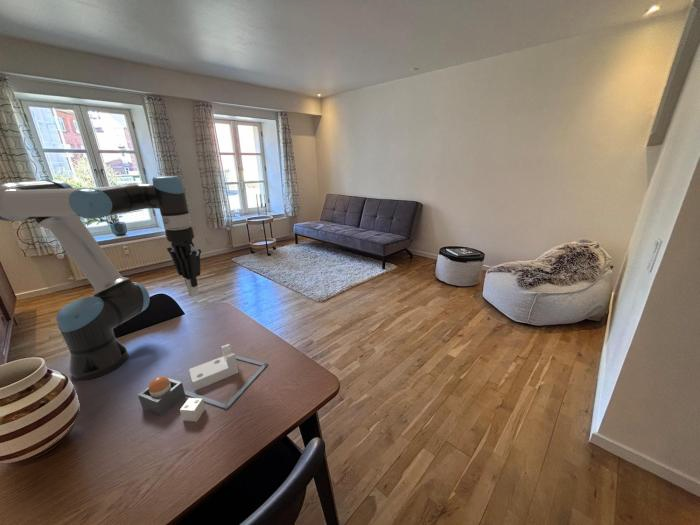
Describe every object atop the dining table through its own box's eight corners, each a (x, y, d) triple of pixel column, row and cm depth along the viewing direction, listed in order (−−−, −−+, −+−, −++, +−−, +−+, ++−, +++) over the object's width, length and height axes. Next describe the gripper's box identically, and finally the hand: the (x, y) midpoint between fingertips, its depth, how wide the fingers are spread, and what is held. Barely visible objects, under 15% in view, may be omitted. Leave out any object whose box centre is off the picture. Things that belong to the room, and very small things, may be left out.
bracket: (232, 361, 98) (229, 343, 96) (238, 373, 93) (234, 354, 90) (191, 377, 91) (186, 358, 89) (194, 391, 86) (189, 371, 83)
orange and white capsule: (149, 403, 80) (142, 382, 77) (165, 390, 84) (159, 370, 82) (161, 408, 78) (155, 387, 76) (177, 394, 83) (171, 374, 80)
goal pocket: (178, 393, 85) (178, 391, 85) (225, 353, 102) (225, 352, 102) (226, 409, 79) (226, 408, 79) (267, 364, 96) (267, 363, 96)
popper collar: (142, 408, 80) (137, 394, 78) (167, 389, 86) (163, 376, 85) (161, 416, 77) (157, 402, 76) (185, 395, 84) (181, 382, 82)
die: (182, 420, 76) (179, 409, 74) (191, 408, 80) (188, 397, 78) (196, 421, 76) (193, 410, 74) (205, 409, 79) (202, 398, 78)
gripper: (153, 228, 87) (171, 296, 95) (182, 231, 82) (198, 302, 91) (175, 223, 94) (190, 287, 102) (203, 226, 89) (217, 293, 97)
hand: (194, 294), depth 96 cm, fingers closed
